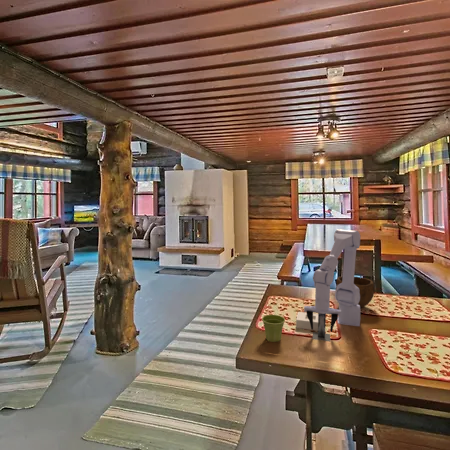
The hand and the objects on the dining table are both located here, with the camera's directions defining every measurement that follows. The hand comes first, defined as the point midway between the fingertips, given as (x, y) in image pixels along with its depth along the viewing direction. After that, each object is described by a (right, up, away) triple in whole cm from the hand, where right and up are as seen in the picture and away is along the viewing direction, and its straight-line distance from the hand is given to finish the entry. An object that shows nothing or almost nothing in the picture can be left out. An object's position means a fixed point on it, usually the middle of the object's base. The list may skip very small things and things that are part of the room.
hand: (321, 329), depth 128 cm
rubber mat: (0, -3, 0) cm, 3 cm away
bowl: (+29, 0, +36) cm, 46 cm away
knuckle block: (-1, -2, +12) cm, 12 cm away
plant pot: (-21, -4, -1) cm, 21 cm away
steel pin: (0, -3, 0) cm, 3 cm away
